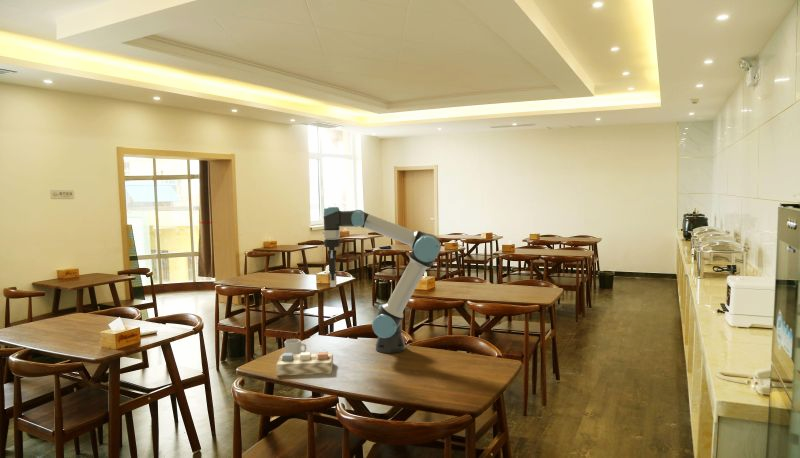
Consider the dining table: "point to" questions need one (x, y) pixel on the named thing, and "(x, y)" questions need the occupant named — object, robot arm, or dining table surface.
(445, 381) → the dining table surface
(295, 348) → the cup
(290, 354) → the key slate
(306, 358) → the key cream
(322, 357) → the key terracotta
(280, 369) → the console
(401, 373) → the dining table surface
